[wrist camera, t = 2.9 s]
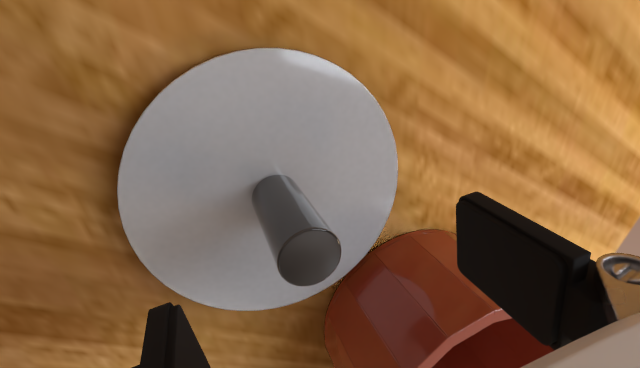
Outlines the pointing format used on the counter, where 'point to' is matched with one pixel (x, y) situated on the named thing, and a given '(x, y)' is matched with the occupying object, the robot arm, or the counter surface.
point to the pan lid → (257, 179)
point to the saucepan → (421, 313)
